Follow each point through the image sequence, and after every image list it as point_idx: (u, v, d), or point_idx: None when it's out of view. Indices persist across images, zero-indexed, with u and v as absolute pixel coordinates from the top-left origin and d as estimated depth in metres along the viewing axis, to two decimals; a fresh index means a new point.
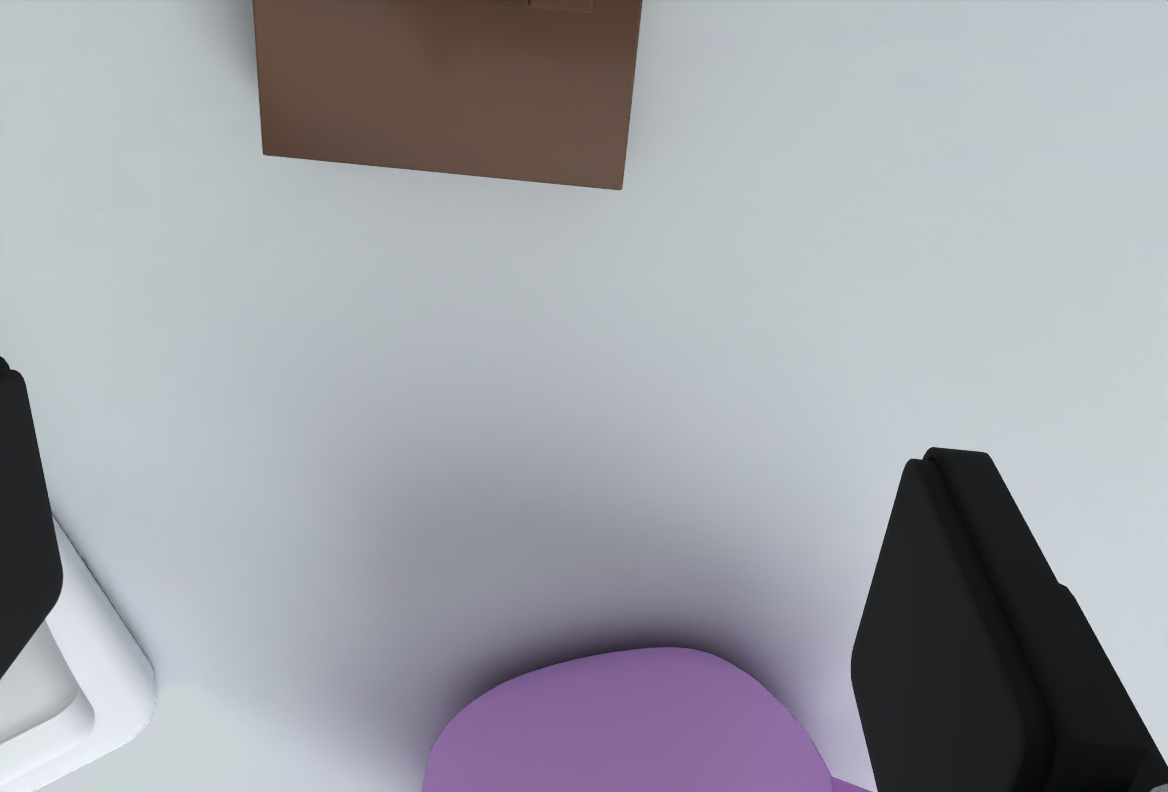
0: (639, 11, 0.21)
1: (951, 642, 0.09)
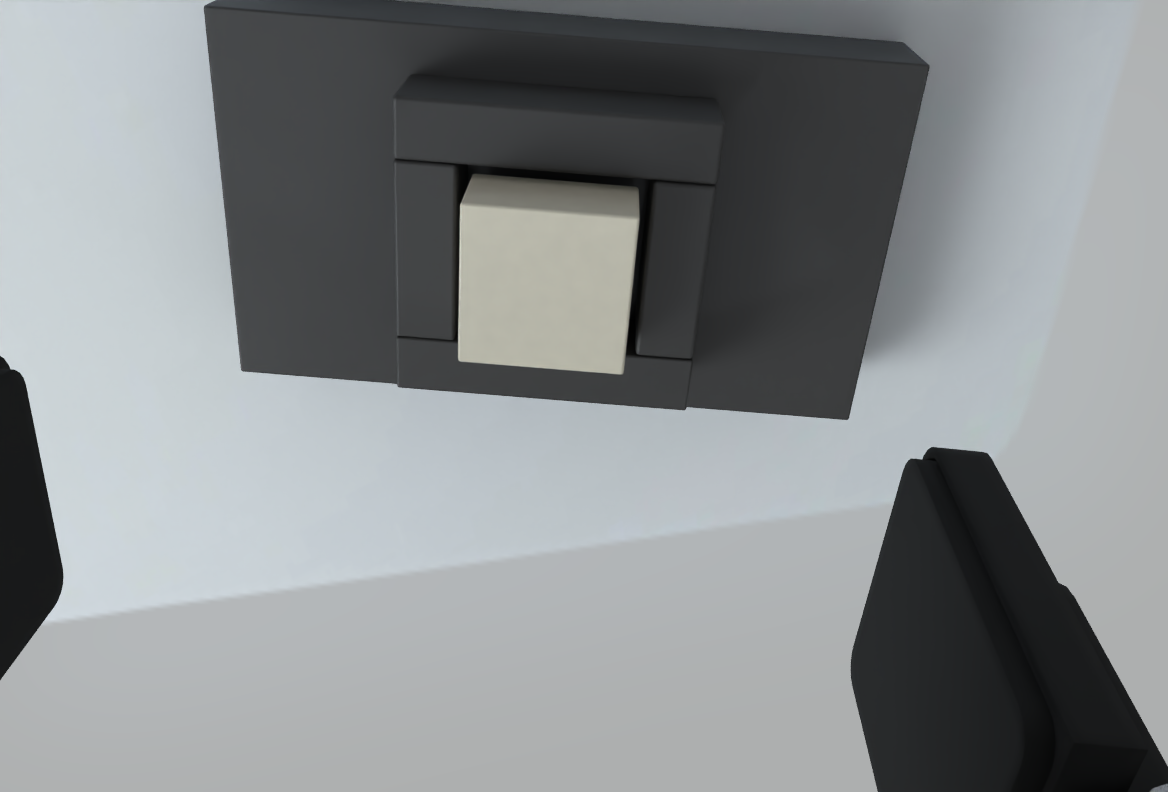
0: None
1: (951, 642, 0.09)
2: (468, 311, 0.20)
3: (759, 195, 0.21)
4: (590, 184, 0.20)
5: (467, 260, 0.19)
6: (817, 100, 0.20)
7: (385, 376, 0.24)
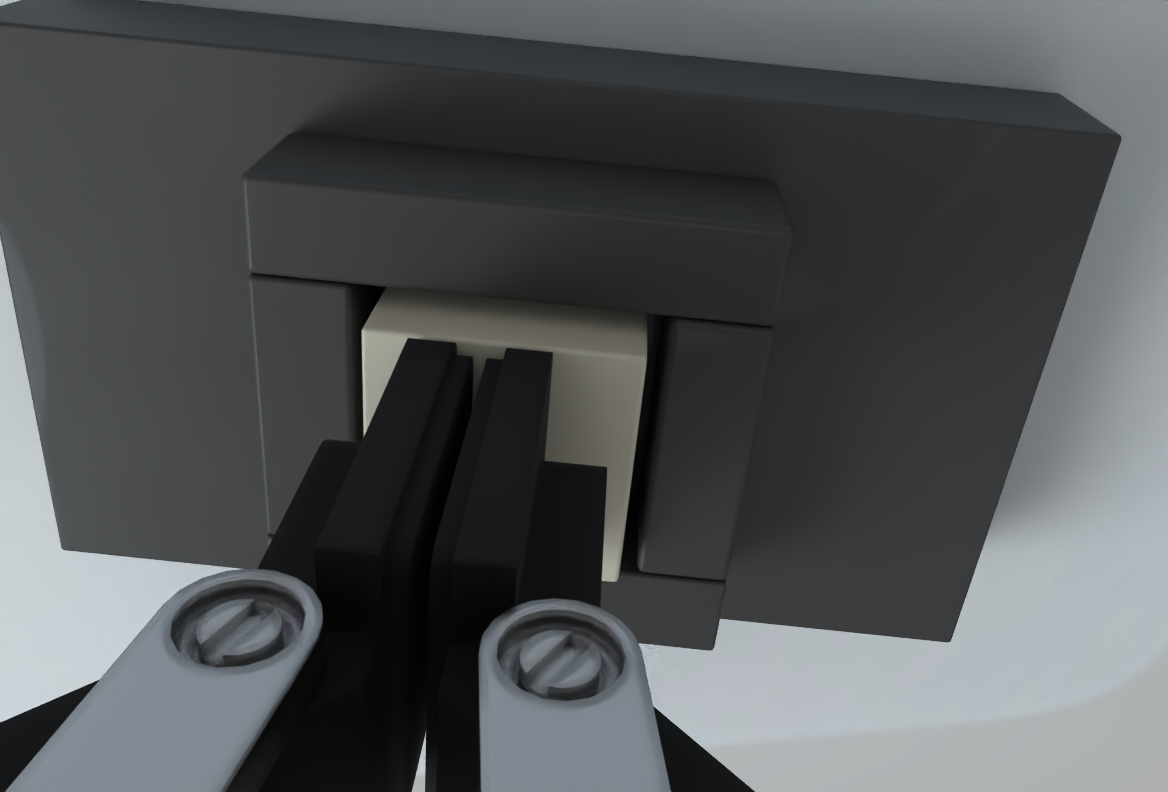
0: None
1: None
2: None
3: (835, 327, 0.14)
4: None
5: None
6: (936, 186, 0.13)
7: None
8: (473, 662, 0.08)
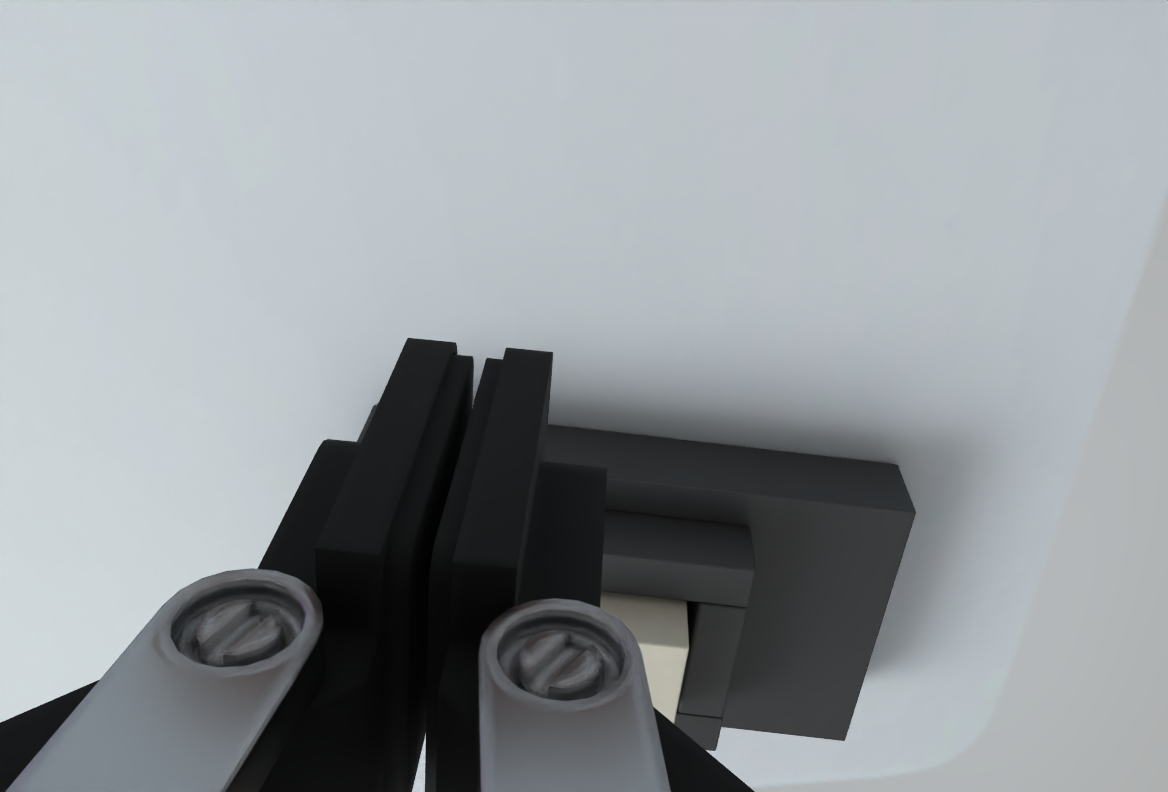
0: None
1: None
2: None
3: (779, 588, 0.27)
4: (649, 599, 0.26)
5: None
6: (828, 530, 0.26)
7: None
8: (473, 663, 0.08)
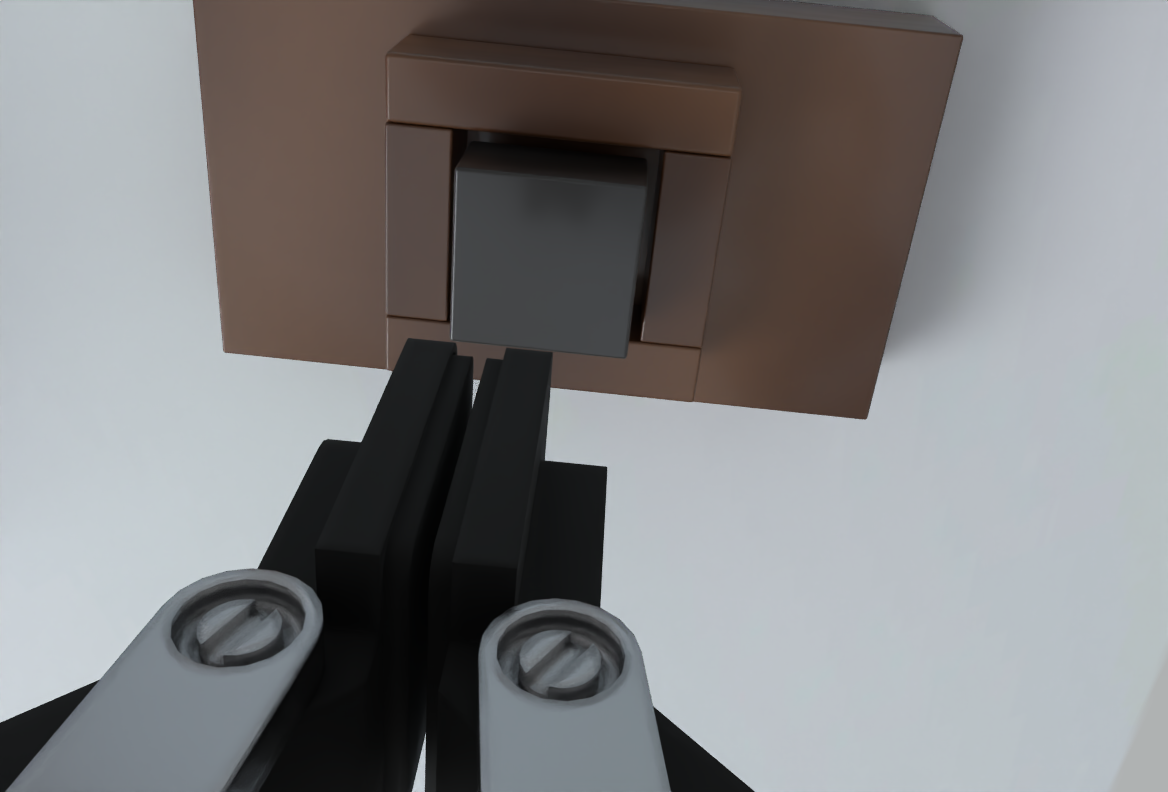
0: None
1: None
2: None
3: None
4: None
5: None
6: None
7: None
8: (473, 663, 0.08)
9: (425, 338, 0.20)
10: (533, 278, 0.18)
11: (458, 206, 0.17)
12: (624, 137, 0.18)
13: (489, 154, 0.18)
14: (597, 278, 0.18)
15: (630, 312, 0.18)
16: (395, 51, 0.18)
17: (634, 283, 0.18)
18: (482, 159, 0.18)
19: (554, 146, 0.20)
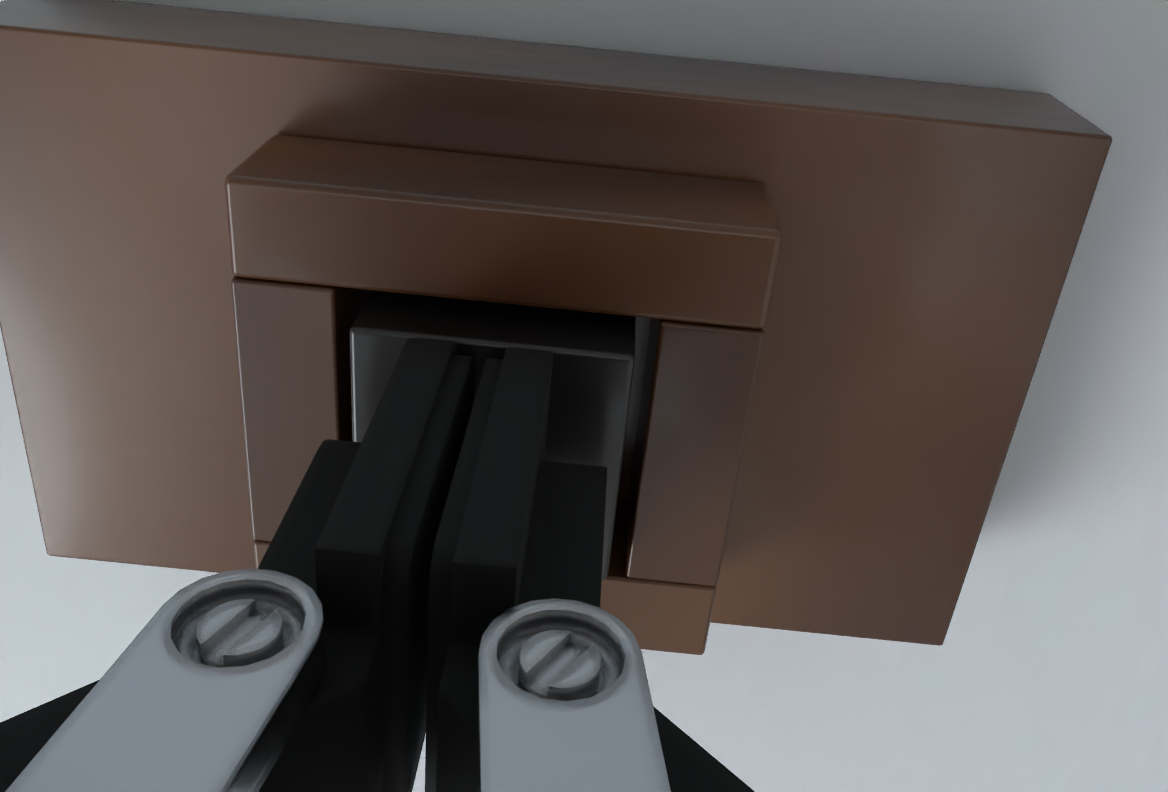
0: None
1: None
2: None
3: None
4: None
5: None
6: None
7: None
8: (472, 662, 0.08)
9: None
10: None
11: (357, 381, 0.12)
12: (598, 302, 0.12)
13: (405, 298, 0.12)
14: None
15: (611, 521, 0.13)
16: (239, 174, 0.11)
17: (617, 484, 0.12)
18: (393, 309, 0.12)
19: None
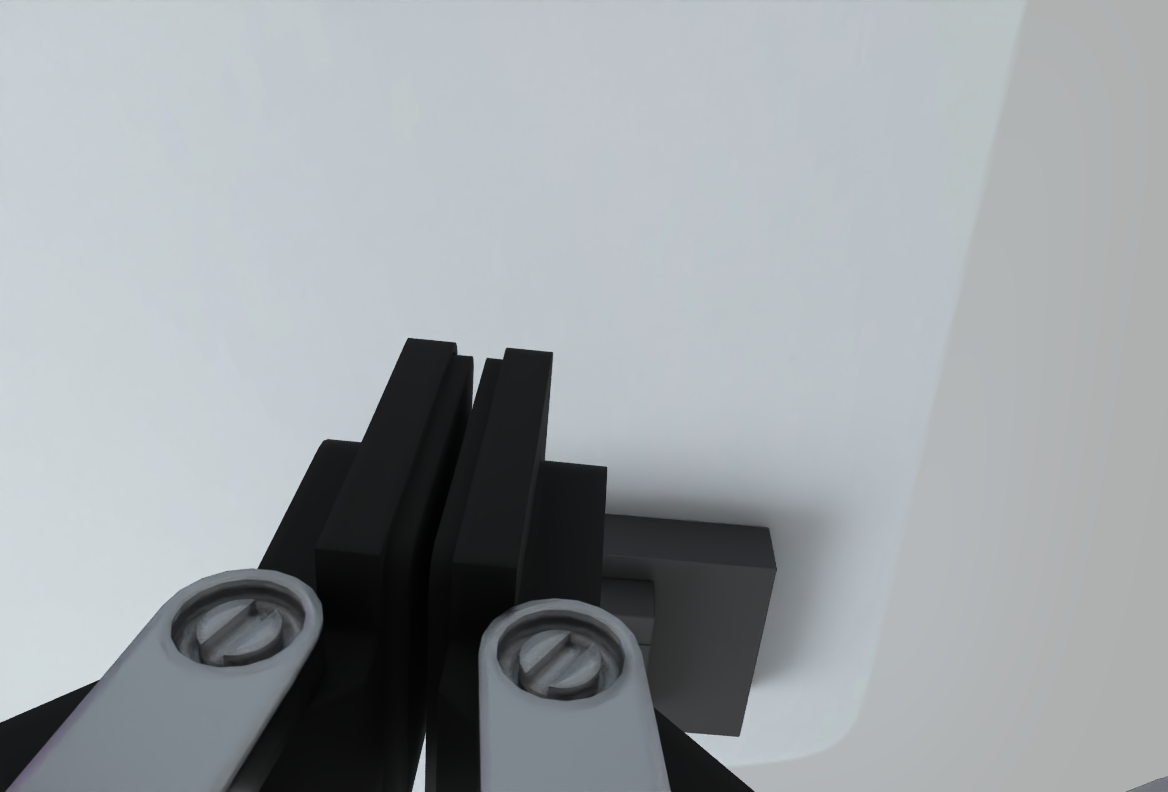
0: None
1: None
2: None
3: (679, 625, 0.36)
4: None
5: None
6: (712, 582, 0.35)
7: None
8: (473, 663, 0.08)
9: None
10: None
11: None
12: None
13: None
14: None
15: None
16: None
17: None
18: None
19: None
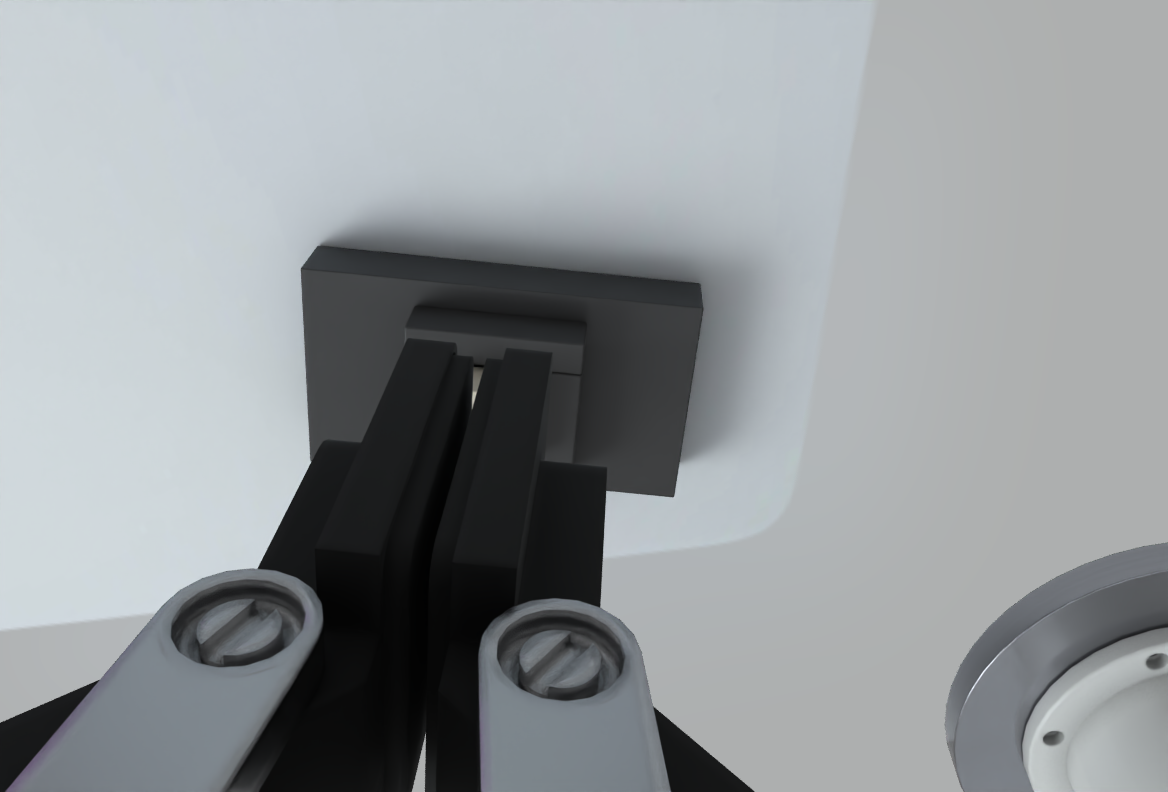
0: None
1: None
2: None
3: (612, 372, 0.38)
4: None
5: None
6: (642, 324, 0.37)
7: None
8: (473, 662, 0.08)
9: None
10: None
11: None
12: None
13: None
14: None
15: None
16: None
17: None
18: None
19: None
